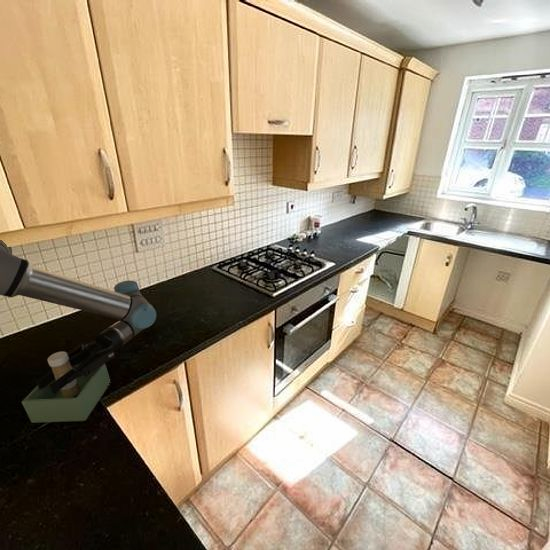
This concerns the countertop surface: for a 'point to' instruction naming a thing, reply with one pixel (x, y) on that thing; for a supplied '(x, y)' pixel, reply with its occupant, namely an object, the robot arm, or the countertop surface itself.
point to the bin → (67, 399)
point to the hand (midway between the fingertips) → (45, 387)
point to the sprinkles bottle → (61, 367)
